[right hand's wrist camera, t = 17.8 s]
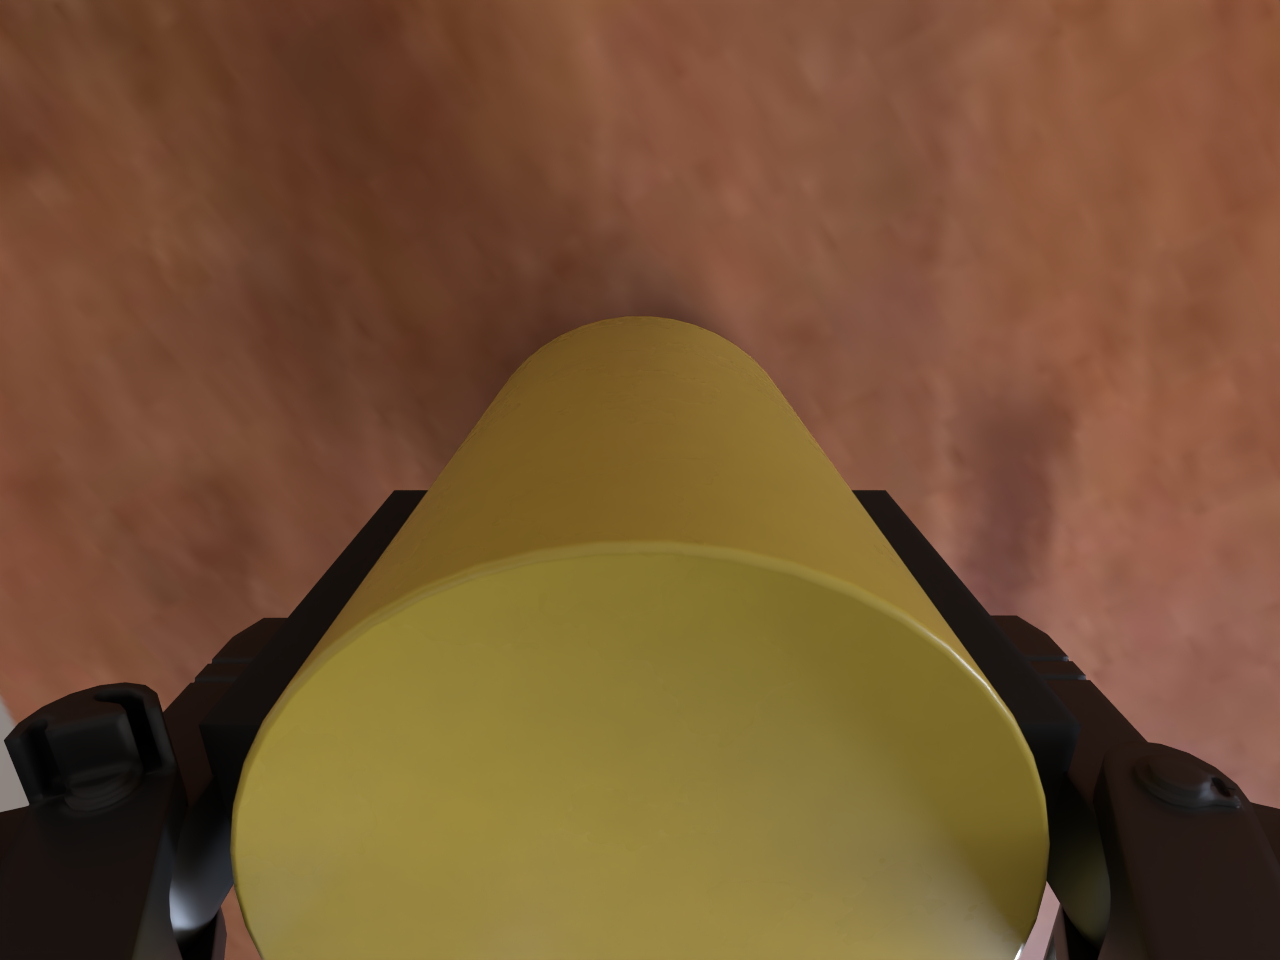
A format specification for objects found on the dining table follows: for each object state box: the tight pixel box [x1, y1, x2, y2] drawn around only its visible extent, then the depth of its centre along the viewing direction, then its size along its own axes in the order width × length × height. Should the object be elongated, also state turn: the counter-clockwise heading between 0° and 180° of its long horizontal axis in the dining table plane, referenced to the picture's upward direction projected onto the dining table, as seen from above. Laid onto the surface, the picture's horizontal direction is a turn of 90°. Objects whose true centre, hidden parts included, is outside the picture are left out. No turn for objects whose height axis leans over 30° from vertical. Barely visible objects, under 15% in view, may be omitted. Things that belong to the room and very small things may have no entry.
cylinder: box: [230, 316, 1050, 960], centre depth 12 cm, size 8×8×11 cm
